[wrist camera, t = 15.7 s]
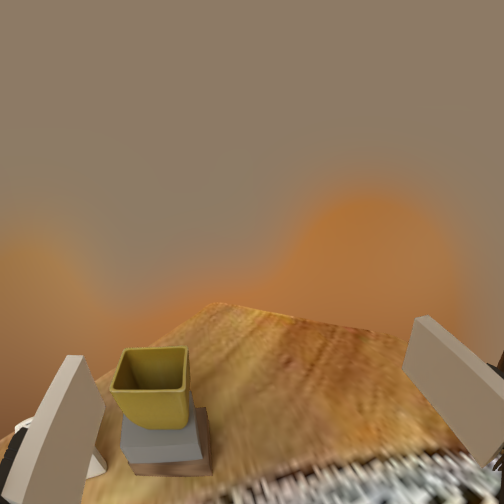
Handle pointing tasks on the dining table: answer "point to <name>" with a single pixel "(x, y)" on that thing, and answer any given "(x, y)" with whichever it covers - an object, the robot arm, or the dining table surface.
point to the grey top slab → (161, 441)
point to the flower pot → (153, 386)
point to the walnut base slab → (183, 467)
